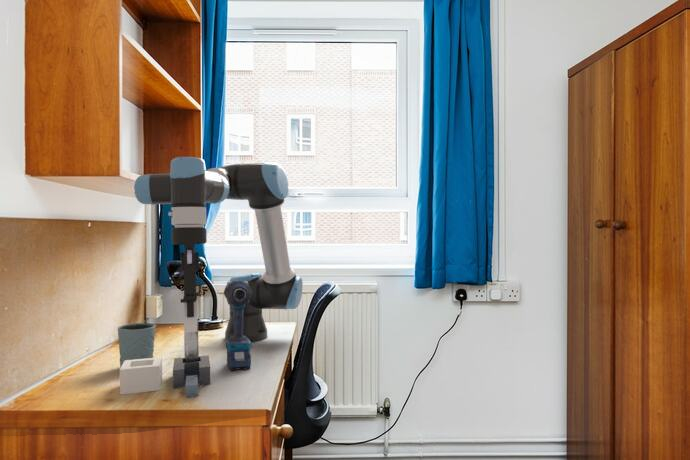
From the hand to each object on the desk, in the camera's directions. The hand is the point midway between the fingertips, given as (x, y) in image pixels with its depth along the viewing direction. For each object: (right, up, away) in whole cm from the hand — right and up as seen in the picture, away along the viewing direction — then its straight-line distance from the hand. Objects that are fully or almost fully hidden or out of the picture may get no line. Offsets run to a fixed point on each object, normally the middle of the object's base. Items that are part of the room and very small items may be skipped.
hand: (190, 328), depth 110 cm
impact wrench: (+5, -17, +29) cm, 34 cm away
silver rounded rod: (-6, -17, +21) cm, 28 cm away
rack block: (-16, -17, +13) cm, 27 cm away
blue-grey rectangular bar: (-2, -17, +9) cm, 19 cm away
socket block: (-6, -17, +19) cm, 26 cm away
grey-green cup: (-25, -18, +31) cm, 44 cm away
